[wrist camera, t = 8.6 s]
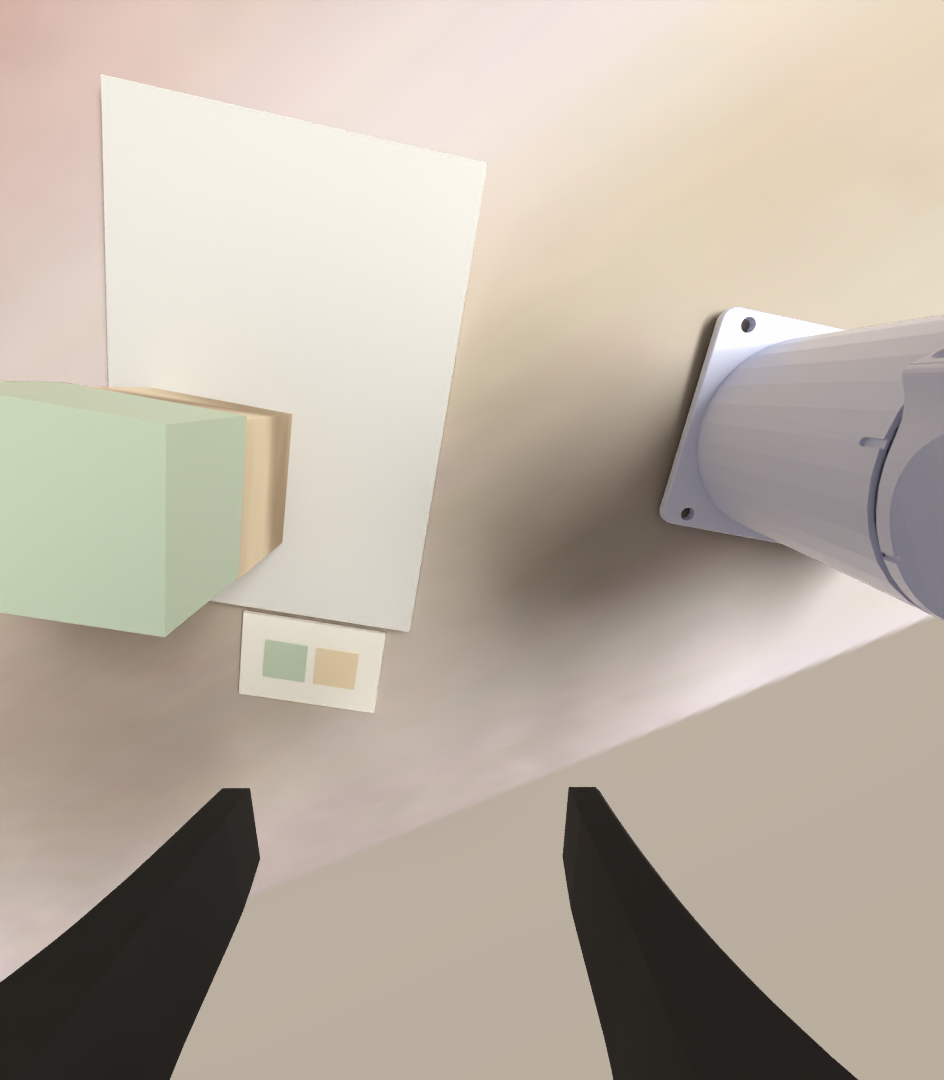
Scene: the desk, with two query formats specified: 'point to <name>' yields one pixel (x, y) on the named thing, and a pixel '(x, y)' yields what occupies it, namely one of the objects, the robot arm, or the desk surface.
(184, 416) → the sage block
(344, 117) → the desk surface
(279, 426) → the beech block
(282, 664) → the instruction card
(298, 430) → the plate
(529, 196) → the desk surface
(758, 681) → the desk surface
